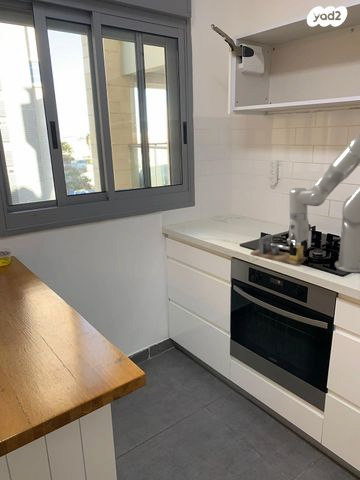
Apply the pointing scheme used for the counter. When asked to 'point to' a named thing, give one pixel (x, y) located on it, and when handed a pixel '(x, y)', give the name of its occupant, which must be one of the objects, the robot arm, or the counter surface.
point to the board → (279, 257)
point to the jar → (308, 238)
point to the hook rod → (298, 249)
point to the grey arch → (265, 244)
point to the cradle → (275, 251)
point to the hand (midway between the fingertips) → (298, 252)
